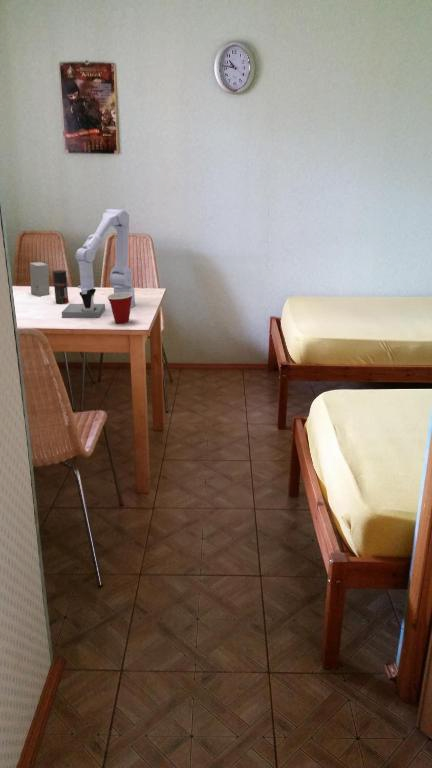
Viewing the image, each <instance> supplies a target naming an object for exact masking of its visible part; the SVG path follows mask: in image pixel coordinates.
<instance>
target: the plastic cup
mask: <svg viewBox="0 0 432 768" xmlns="http://www.w3.org/2000/svg"><path fill="white" fill-rule="evenodd" d="M132 295H133V294H132V293H127V292H124V293H115V294H114V293H112V294H109V295H107V296H106V298H107V299H108V301H109V304H110V308H111V312H112V315H113V319H114V322H115V324H119V325H121V324H127V323H129V321H130V314H131V308H132V307H131V299H132Z"/></svg>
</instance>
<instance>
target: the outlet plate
mask: <svg viewBox="0 0 432 768" xmlns="http://www.w3.org/2000/svg"><path fill="white" fill-rule="evenodd" d="M105 310H106V304H105V303H94V311H83V303H68V305H67V306H66V307H65V308H64V309H63V310H62V311H61V319H99V318H100V317H101V315H103V312H104V311H105Z"/></svg>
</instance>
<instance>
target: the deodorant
mask: <svg viewBox="0 0 432 768" xmlns="http://www.w3.org/2000/svg"><path fill="white" fill-rule="evenodd" d="M52 277H53V278H52V279H53V288H54V297H55V298H54V299H55V304H56V305H65V304H69V294H68V293H69V292H68V282H67V271H66V270H61V269H60V270H58V269H57V270H53V271H52Z"/></svg>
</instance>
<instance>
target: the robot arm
mask: <svg viewBox="0 0 432 768" xmlns="http://www.w3.org/2000/svg"><path fill="white" fill-rule="evenodd" d="M111 227H112V228H114V229H115V230H116V244H115V245H116V246H115V265H114V266H113V267H112V268H111V269H110V275H109V282H110V284H111V286H112V287H113V294H115V293H124V292H127V293H132V294H133V295H132V299H131V307H130V308H134V306H135V304H136V301H135V300H136V298H135V297H136V296H135V287H134V286H132V284H133V282H134V281H133V279H134V278H133V274H132V272H133V271H132V270H131V268H130V267H128V260H129V259H128V258H129V254H128V253H129V238H130V237H129V236H130V214H129V213H128V212H127V211H126V209H116V208H115V209H114V208H106V210H105V211H104V213H103V214H102V219H101V221H100V223H99V225H98V227H97V229H96V231H95V232H94V234H93V233H92V234H90V235H88V237H87V239H86V240H85V242H84V244H83V245H82V246H81V247H80V248H78V249H77V250H76V252H75V255H74V257H75V259H76V261H77V265H78V269H79V270H78V271H79V280H80V281H79V283H80V285H77V288H78V289H80V290H81V291H80V292H79V295H80V297H81V299H83V301H82V303H83V302H84V306H85V308H90V307H91V298H92V295H93V298H94V296H95V293H96V291H97V289H96V288H95V283H94V282H95V281H94V268H93V261H94V260H95V258H96V253H97V251H98V249H99V247H100V246H101V244H102V241H103V240H102V238H103V237H104V236H105V235H106V234H107V232H108V231H109V229H110V228H111Z"/></svg>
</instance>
